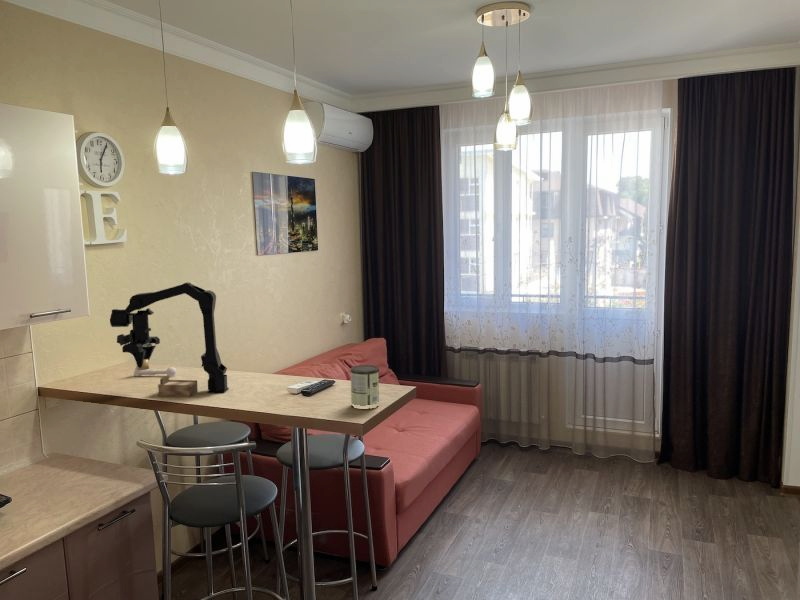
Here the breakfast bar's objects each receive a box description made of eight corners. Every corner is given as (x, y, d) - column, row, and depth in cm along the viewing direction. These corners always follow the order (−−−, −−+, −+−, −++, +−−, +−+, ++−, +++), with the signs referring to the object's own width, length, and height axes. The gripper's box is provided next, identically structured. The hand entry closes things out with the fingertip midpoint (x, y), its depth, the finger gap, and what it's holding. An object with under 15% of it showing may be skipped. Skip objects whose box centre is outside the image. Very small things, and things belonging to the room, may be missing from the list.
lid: (196, 383, 237) (195, 375, 236) (190, 387, 231) (189, 379, 230) (166, 382, 237) (166, 375, 237) (159, 386, 231) (159, 379, 231)
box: (197, 391, 238) (197, 380, 237) (189, 396, 230) (189, 385, 229) (167, 390, 239) (167, 379, 238) (158, 396, 231) (158, 384, 230)
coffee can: (355, 401, 226) (355, 364, 224) (382, 403, 223) (382, 365, 222) (347, 408, 216) (346, 370, 214) (374, 411, 213) (374, 372, 212)
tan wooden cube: (151, 368, 235) (151, 359, 234) (142, 370, 231) (141, 361, 231) (143, 367, 237) (143, 358, 236) (134, 369, 233) (133, 360, 233)
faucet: (171, 388, 261) (177, 366, 260) (131, 374, 260) (138, 353, 259) (174, 385, 265) (181, 364, 264) (135, 372, 264) (142, 351, 263)
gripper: (132, 322, 242) (134, 360, 243) (107, 330, 223) (109, 371, 225) (159, 322, 241) (161, 360, 243) (136, 330, 223) (139, 371, 224)
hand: (142, 366), depth 234 cm, fingers closed on tan wooden cube, 4 cm apart
